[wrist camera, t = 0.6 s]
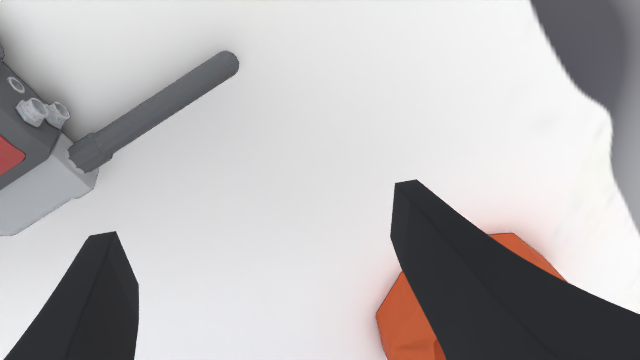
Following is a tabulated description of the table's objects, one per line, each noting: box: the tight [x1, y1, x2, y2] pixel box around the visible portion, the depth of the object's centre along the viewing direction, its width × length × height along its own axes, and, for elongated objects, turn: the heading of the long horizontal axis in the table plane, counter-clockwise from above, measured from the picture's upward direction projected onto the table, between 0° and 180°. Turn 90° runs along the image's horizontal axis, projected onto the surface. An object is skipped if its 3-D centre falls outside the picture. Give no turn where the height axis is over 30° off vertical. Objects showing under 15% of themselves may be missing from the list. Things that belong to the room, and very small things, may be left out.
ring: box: [376, 233, 567, 360], centre depth 32 cm, size 13×12×3 cm
